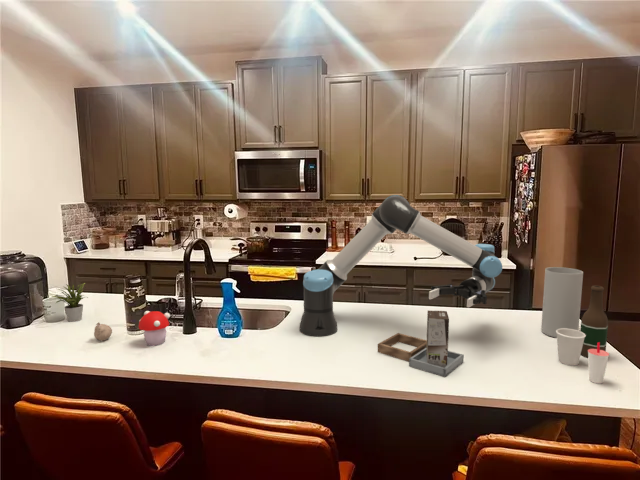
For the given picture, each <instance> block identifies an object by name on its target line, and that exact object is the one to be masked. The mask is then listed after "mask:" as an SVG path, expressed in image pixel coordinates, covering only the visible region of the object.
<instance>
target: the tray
mask: <svg viewBox="0 0 640 480" xmlns="http://www.w3.org/2000/svg"><path fill="white" fill-rule="evenodd" d="M426 350H427V347H426V348H425V349H423V350H422V351H420V352H419V353H417V354H416V355H414V356H413V357H411V358H409V361H408V367H410V368H414V369H418V370H420V371H424V372H426V373H430V374H433V375H438V376H440V377H444V378H446V377H447V376H448V375H450V373H452V372H453V371H454V370H456V369H457V368H458V367H459V366H460V365H462V364H463V363H464V358H465V357H464V356H465V355H464V354H462V353H459V352H455V351H451V350H448V355H447V366H446V367H445V368H443V367H439V366H436V365H432V364H429V363H427V358H426Z"/></svg>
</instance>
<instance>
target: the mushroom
mask: <svg viewBox="0 0 640 480" xmlns="http://www.w3.org/2000/svg"><path fill="white" fill-rule="evenodd" d="M170 314H171V313H169V312H165V313H163V312H161V311H157V310H156V311H155V310H154V311H153V310H152V311H149V310H146V311H144V313H143V316H142V317H141V318H140V319H139V320H138V330H140V331H144V333H143V336H144V339H145V340H144V341H145V345H147V346H150V347H154V346H160V345H162V344H163V345H164V343H166V336H167V330H166V328H167V327H169V326H170V322H169V318H170V317H171V315H170Z"/></svg>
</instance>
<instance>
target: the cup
mask: <svg viewBox="0 0 640 480" xmlns="http://www.w3.org/2000/svg"><path fill="white" fill-rule="evenodd" d="M609 356H610V353H609V352H608V351H603V350H600V342H598V343H597V349H588V358H587V359H588V361H587V362H588V380H589V381H590V382H592V383H595V384H597V385H598V384H603V383H604V377H605V373H606V370H607V365H608V361H609Z"/></svg>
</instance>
